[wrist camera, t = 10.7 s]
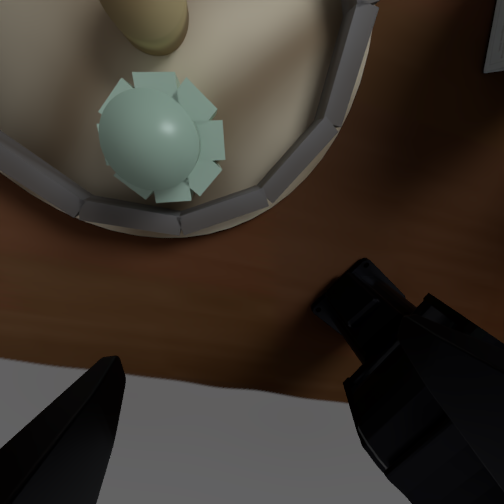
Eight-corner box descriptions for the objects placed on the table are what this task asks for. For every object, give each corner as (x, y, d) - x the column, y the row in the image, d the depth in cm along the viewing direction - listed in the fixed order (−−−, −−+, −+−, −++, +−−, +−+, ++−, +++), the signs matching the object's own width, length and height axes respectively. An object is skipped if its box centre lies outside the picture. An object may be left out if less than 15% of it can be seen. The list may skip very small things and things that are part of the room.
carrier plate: (439, 26, 16) (496, -3, 13) (195, 291, 21) (192, 319, 17) (42, -763, 7) (-94, -1497, 4) (-231, 13, 12) (-396, -35, 9)
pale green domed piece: (242, 140, 16) (259, 138, 10) (181, 212, 17) (168, 245, 12) (158, 55, 14) (124, -3, 8) (95, 145, 15) (28, 147, 9)
